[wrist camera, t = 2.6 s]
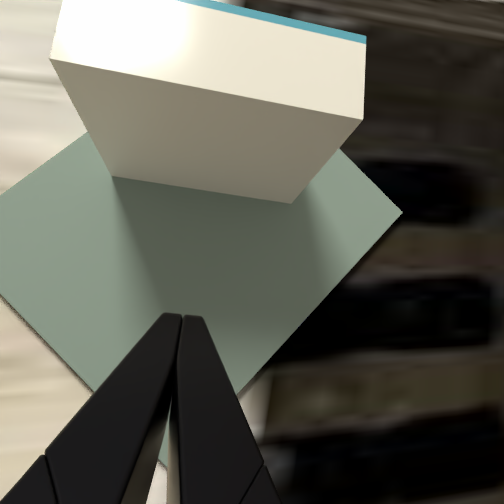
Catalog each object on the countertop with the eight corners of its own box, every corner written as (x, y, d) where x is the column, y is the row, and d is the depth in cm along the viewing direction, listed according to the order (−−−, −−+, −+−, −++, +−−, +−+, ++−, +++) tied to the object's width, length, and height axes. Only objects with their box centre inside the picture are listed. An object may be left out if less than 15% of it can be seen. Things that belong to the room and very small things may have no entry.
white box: (291, 203, 19) (362, 119, 11) (111, 176, 17) (48, 58, 10) (295, 151, 19) (365, 36, 12) (122, 120, 18) (71, -33, 10)
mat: (398, 214, 20) (402, 212, 20) (169, 465, 16) (168, 469, 15) (223, 38, 20) (223, 32, 20) (-50, 237, 16) (-56, 235, 16)
